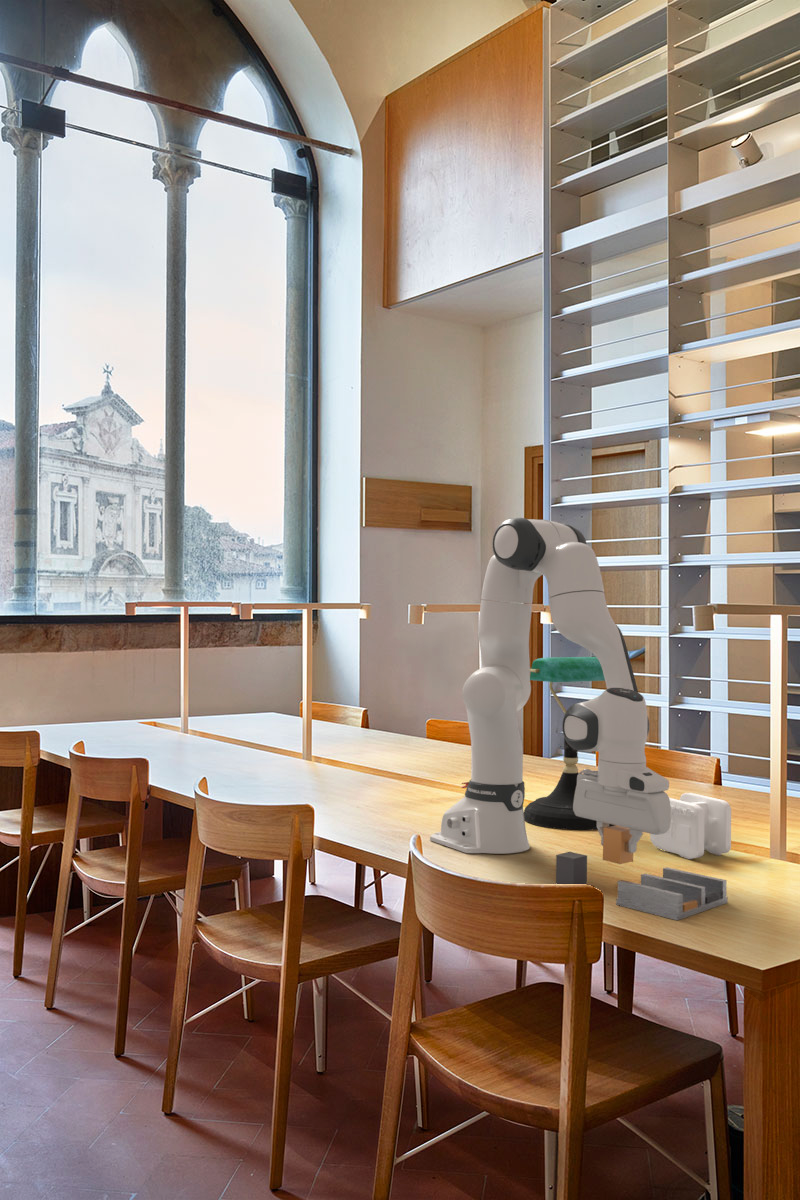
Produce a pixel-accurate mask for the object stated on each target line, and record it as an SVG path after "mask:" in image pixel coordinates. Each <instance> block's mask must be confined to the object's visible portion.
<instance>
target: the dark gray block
mask: <svg viewBox="0 0 800 1200" xmlns="http://www.w3.org/2000/svg"><path fill="white" fill-rule="evenodd" d="M556 883H557V884H587V885H588V855H586V854H581V853H579V852H578V853H577V852H573V851H566V852H563V853H558V854H556V855H555V884H556Z"/></svg>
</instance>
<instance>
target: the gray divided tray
mask: <svg viewBox="0 0 800 1200" xmlns="http://www.w3.org/2000/svg"><path fill="white" fill-rule="evenodd" d="M728 897H729V896H727V879H723V878H717V877H714V876H708V875H703V874H699V873H695V872H690V871H685V870H681V869H676V868H672V867H667V866H666V867H663V868H662V876H658V875H655V874H654V875H653V874H650V873H649V874H648V873H642V874H640V883H636V882H632V881H629V880H624V879H620V880H618V881H617V898H616V903H615V904H616V906H619V905H620V907H623V908H628V909H632V910H636V911H639V912H644V913H646V914H650V915H654V916H657V917H658V916H660V917H662V918H667V919H670V920H674V921H680V920H683V919H685V918H688V917H691V916H694V915H697V914H699V913H703V912H705V911H708V910H710V909H714V908H717V907H720V906H723V905H725V904H728Z"/></svg>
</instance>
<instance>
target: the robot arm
mask: <svg viewBox="0 0 800 1200" xmlns="http://www.w3.org/2000/svg"><path fill="white" fill-rule="evenodd" d="M492 552H493V555H492V556H491V557H490V559H489V561H488V564H487V567H486V571H485V574H484V575H485V576H484V577H483V578H484V579H483V585H482V589H481V598H480V599H481V600H480V609H479V618H478V619H479V620H478V627H477V628H478V629H477V639H478V641H479V648H480V658H481V659H480V661H481V666H480V667H481V668H479V669H477V670H475V671H474V672H473V673H471V674H470V675H469V676H468V678H466V680H465V682H464V684H463V686H462V691H461V694H462V695H461V697H462V701H463V704H464V706H465V710H466V717H467V723H468V730H469V735H470V736H469V737H470V746H471V750H470V751H471V757H470V759H471V760H470V761H471V762H470V763H471V764H470V765H471V768H470V769H471V773H470V774H471V775H470V778H471V779H469V781H466V782H462V783H461V785H463V786H461V788H462V789H466V790H465V792H464V796H463V797H462V798H460V799H459V800H458V801H457V802H456V803H455V804H453V805H452V806H451V807H449V809H447V810H446V811H445V812H444V814H443V815H442V817H441V823H440V831H438V832H435V833H433V834H431V835H430V837H429V841H431V842H434V843H437V844H439V845H443V846H446V847H449V848H451V849H455V850H457V851H459V852H463V853H464V854H495V855H496V854H503V855H504V854H516V853H522V852H526V851H528V850H529V849H530V848H531V847H530V843H529V840H528V835H527V829H526V823H525V822H526V821H525V820H524V802H525V796H526V795H525V794H526V793H525V792H526V790H525V789H526V788H525V782H524V781H523V778H524V776H523V774H524V769H523V767H524V762H523V760H524V759H523V757H524V745H523V742H522V739H521V734H520V727H519V721H518V711H520V710H521V709H522V708H523V707H525V705H526V704H527V702H528V701H529V698H530V695H531V692H532V685H531V680H530V674H531V672H530V668H531V667H530V665H531V664H530V662H531V661H530V660H531V659H530V629H531V620H532V619H531V618H532V609H533V598H534V588H535V584H536V582H537V580H538V579H539V578H540V577H542V576H544V577H545V579H546V582H547V588H548V589H547V590H548V601H549V610H550V611H549V612H550V617H551V620H552V624H553V627H554V628H555V629H556V630H557V632H558V633H559V634H560V635H561V636H563V637H564V638H565V639H567V640H568V641H570V642H571V643H574V644H577V645H578V646H580V647H583V648H584V649H586V650H587V651H589V652H590V653H591V654H593V655H594V657H597V659H598V660H599V662H600V664H601V666H602V670H603V674H604V678H605V686H606V689H605V690H603V691H602V693H601V694H600V695H598V696H596V697H594V698H592V699H589V700H585V701H581V702H578V703H573V704H572V705H570V706H569V707H568V708H567V709H566V713H565V714H564V715H563V717H562V724H561V726H562V729H561V730H562V734H563V738H565V740H566V742H567V743H568V744H569V745H570V746H571V747H572V748H573V749H575V750H578V751H581V752H588V753H589V752H598V758H597V759H598V761H597V770H594V769H593V770H592V769H589V768H584V769H582V770H580V772H579V771H578V773H579V774H578V775H577V786H576V790H575V795H574V803H573V811H574V813H575V815H576V816H579V817H583V818H587V819H591V820H596V821H597V829H596V830H597V831H598V833H599V836H600V837H601V838H600V845H601V846H602V847H603V837H604V828H605V827H608V826H609V824H612V825H614V826H616V825H617V826H621V827H625V828H629V829H630V835H632V837H631V838H630V840H629V842H625V848H624V850H625V852H629V853H633V854H634V853H636V852H637V845H638V844H637V843H638V842H639V841H640V839H641V838H642V836H643V833H647V834H650V833H651V834H655V835H659V834H664V833H666V832H667V831H668V830H669V828H670V823H671V807H670V799H669V798H670V796H669V795H668V793H666V792H667V791H668V790H669V788H670V781H669V779H668V778H666V777H664V776H663V775H661V774H659V773H657V772H656V771H654V770H652V769H651V768H649V767H648V766H647V757H646V752H645V750H646V749H645V746H646V744H647V740H648V736H649V733H650V721H649V716H648V708H647V704H646V700H645V697H644V695H642V694H641V693H640V692H639V690H638V685H637V683H636V682H637V681H636V679H635V678H636V677H635V675H634V672H633V671H634V669H633V668H632V666H633V665H632V663H631V658H630V654H629V651H628V648H627V644H626V641H625V637H624V635H623V632H622V630H621V629H620V627H619V626H618V625H617V624H616V623H615V621H614V619H613V618H612V616H611V613H610V611H609V607H608V604H607V600H606V595H605V588H604V582H603V578H602V572H601V568H600V564H599V561H598V558H597V556H596V553H595V551H594V549H593V548H592V547H591V546H590V545H588V543H587V540H586V537H585V536H584V534H583V532H581V531H580V530H579V529H577V528H576V527H575V526H571V525H570V524H568V523H560V522H557V521H553V520H550V519H549V520H548V519H533V518H531V519H530V518H529V519H528V518H525V517H515V518H509V519H506V520H504V521H502V522H501V523H500V524H499V525H498V526H497V528H496V530H495V532H494V533H493V537H492Z"/></svg>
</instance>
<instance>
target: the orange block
mask: <svg viewBox="0 0 800 1200" xmlns="http://www.w3.org/2000/svg"><path fill="white" fill-rule="evenodd" d="M631 837H632V835H630V829H629V828H625V827H621V826H617V825H614V826H611V827H605V828H604V837H603V846H602V860H603V861H606V862H610V863H614V864H617V865H623V864H627V863H631V862H632V863H633V862H634V853H629V852H625V850H624V848H625V842H629V840H630V838H631Z"/></svg>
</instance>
